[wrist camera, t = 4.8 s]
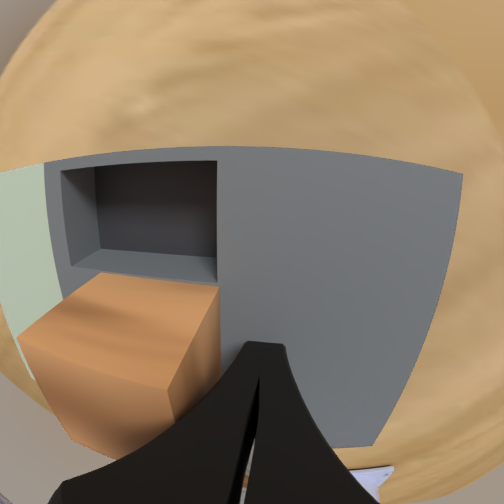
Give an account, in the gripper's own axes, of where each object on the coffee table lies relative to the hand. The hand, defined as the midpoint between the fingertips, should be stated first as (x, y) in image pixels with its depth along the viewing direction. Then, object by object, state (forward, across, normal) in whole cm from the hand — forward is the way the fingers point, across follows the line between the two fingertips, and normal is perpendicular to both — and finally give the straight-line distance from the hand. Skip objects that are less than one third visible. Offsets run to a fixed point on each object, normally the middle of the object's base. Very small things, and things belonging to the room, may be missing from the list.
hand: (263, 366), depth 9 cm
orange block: (+1, +4, 0) cm, 4 cm away
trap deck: (+3, +5, 0) cm, 6 cm away
